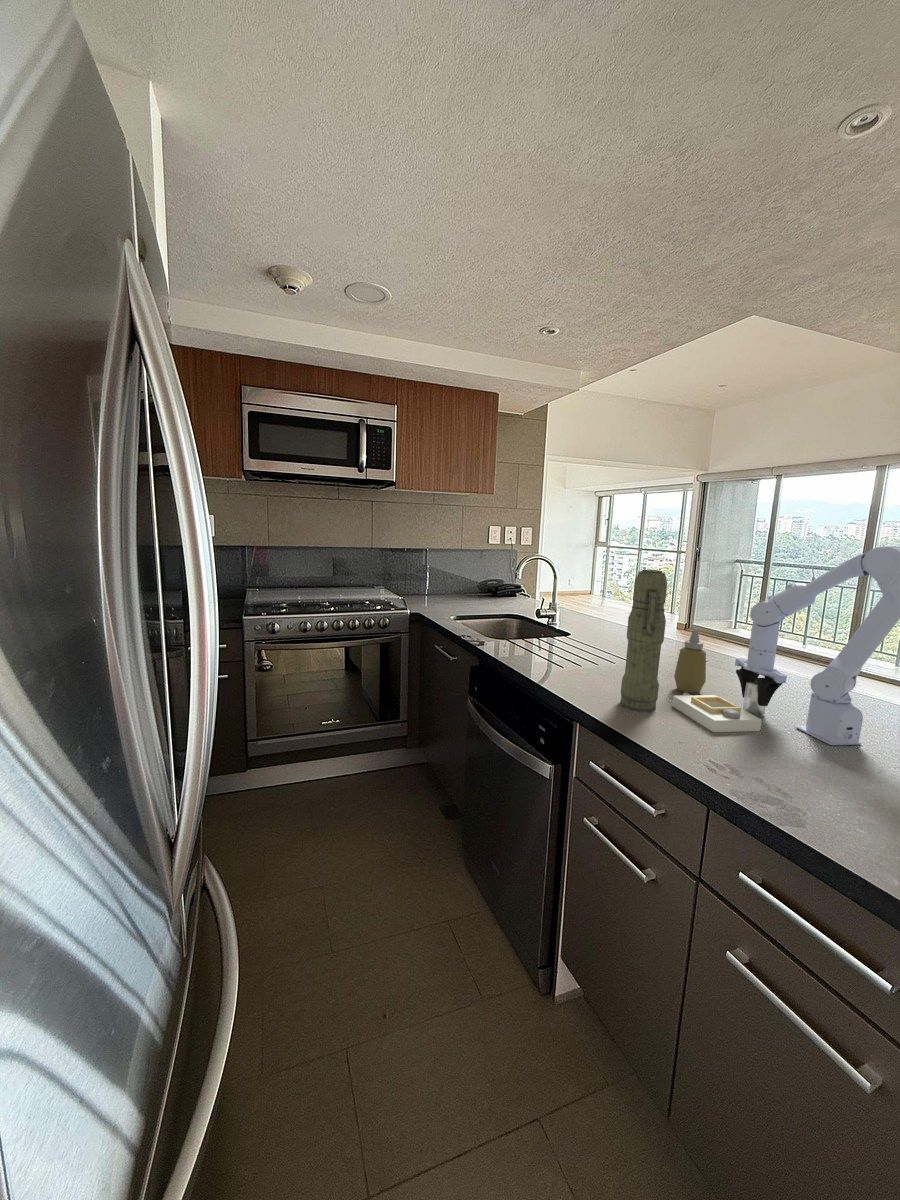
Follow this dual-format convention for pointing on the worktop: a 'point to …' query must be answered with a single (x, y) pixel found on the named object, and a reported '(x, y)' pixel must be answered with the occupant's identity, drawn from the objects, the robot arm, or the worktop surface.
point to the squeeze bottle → (691, 666)
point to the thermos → (644, 642)
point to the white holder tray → (716, 713)
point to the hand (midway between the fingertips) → (754, 701)
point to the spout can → (752, 699)
